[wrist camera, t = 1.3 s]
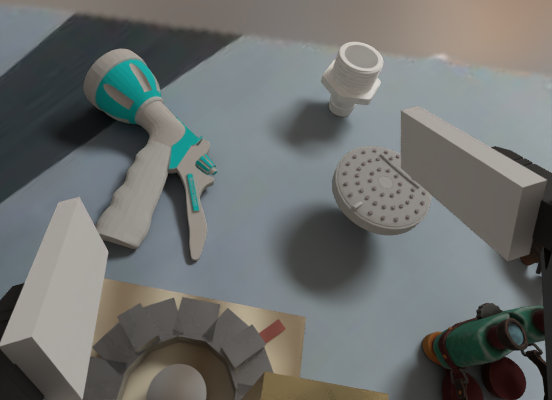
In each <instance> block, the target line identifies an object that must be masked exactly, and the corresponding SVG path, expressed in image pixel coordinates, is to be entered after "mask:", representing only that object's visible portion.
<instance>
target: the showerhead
mask: <svg viewBox="0 0 552 400" xmlns="http://www.w3.org/2000/svg"><path fill="white" fill-rule="evenodd" d="M332 190H333V195H334V198H335V200H336V202H337V204H338V206H339V208H340V209H341V211H342V212H343V213H344V214H345V215H346V216H347V217H348V218H349V219H350V220H351V221H352V222H354V223H355V224H356V225H358V226H359V227H361V228H363V229H365V230H367V231H370V232H373V233H376V234H381V235H398V234H402V233H405V232H407V231H409V230H411V229H412V228H414V227H415V226H416V225H417V224H418V223H419V222H421V221H422V220H423V219H424V217H425V216H426V215H427V213H428V211H429V208H430V204H431V194H430V193H429V192H428V191H426V190H425V189H424V188H423V187H422V186H421V185H420V184H418V183H417V182H416V181H415V180H414V179H413V178H412V177H410V176H409V175H408V174H407V173H406V172H405V171H404V170H402V169H401V154H399V153H397V152H395V151H393V150H390V149H387V148H382V147H377V146H367V147H360V148H357V149H354V150H352V151H350V152H348V153H347V154H346V155H345V156H344V157H343V158H342V159H341V160H340V162H339V163H338V165H337V168H336V170H335V173H334V175H333V179H332Z"/></svg>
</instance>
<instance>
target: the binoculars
mask: <svg viewBox="0 0 552 400" xmlns="http://www.w3.org/2000/svg"><path fill="white" fill-rule="evenodd" d="M476 312H477V315H476V318H473V319H470V320H467V321H464V322H460V323H457V324H455V325H454V326H452V327H450V328H448V329H447V330H445V331H443V332H435V333H432V334H429V335H427V336H426V337H425V338H424V340H423V349H424V352H425V354H426V355H427V356H428V358H430V359H431V360H432V361H433V362H435V363H436V364H438V365H441V366H443V367H444V371H445V374H446V375H445V377H444V380H443V384H442V395H443V400H484V399H483V393H482V390H481V388H480V386H479V385H478V383H477V382H476V380H475V379H474V378H473V377H472V376H470V375H469V374H468V373H466V372H465V371H464V370H463V369H465V368H467V367H469V366H474V365H480V364H484V365H483V369H482V377H483V382H484V385H485V387H486V388H487V390H488V391H489V392H490V393H491V394H492V395H494V396H496V397H498V398H501V399H506V400H516V399H518V398H520V397H521V396H522V395H523V393H524V392H525V388H526V379H525V376H524V373H523V372H522V370H521V369H520V367H519V366H518V365H517V364H516V363H515V362H514V361H512V360H511V359H509V358H507V357H504V356H506V355H507V354H509V353H511V352H512V351H513V350H514V351H515V350H521V353H522V355H524V356H527V357H528V358H529V359H530V360H531V361H532V362H533V363H534V364H535V365H536V366H537V367H538V369H539V371H540V373H541V375H542V377H543V385H544V393H545V395H544V400H548V383H547V365H546V362H545V361H544V360H543V359H542V358H541V356H540V355H542V353H543V352H542V350H541V349H540V348H539V347H538V346H537V345H536V344H535V342H540V341H544V340H545V329H544V311H543V306H528V307H521V308H517V309H512V310H507V311H502V310H500V308H499V307H498V306H496V305H494V304H493V303H491V304H489V303H486V304H482V305H481V306H479V307H478V310H477V311H476ZM531 345H533V346H534V347H535V348H536V349H537V350H538V351H539V352H538V351H537V350H532V351H527V352H525V353H526V354H525V353H524V350H525V349H526V348H527V346H531Z"/></svg>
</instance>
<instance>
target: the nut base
mask: <svg viewBox="0 0 552 400" xmlns="http://www.w3.org/2000/svg"><path fill="white" fill-rule="evenodd" d="M182 297H185V298H191V299H196V300H201V301H206V302H212V303H217V304H221V305H220V311H219V316H218V318H219V317H220V316H221V314H222V313H223V312H224V311H225V310H226V309H227V308H229V309H230V310H231V311H232V312H233V313H234V314H236V315H237V316H238V317H239V318H240V319H241V320H242V321H244V322H245V323H246V324H247V325H248V326H250V325H252V324H253V326H254V327H255V329H256V330H257V332H258V333H259V334H260V336H261V337H262V339H263V340H264V342H265V343H266V346H265V350H266V353H267V356H268V358H269V361H270V364H271V367H272V370H273V372H274V373H276V374H281V375H287V376H292V377H298V378H300V369H301V359H302V349H303V339H304V329H305V319H306V317H302V316H297V315H292V314H287V313H281V312H276V311H271V310H266V309H261V308H255V307H250V306H245V305H240V304H235V303H229V302H224V301H219V300H214V299H209V298H203V297H198V296H193V295H188V294H183V293H177V292H172V291H167V290H162V289H156V288H151V287H146V286H141V285H136V284H130V283H125V282H120V281H115V280H110V279H104V281H103V286H102V292H101V298H100V303H99V309H98V315H97V321H96V326H95V332H94V338H93V343H92V347H93V346H94V345H95V344H96V343H97V342H98V341H99V340H100V339H101V338H102V337H103V336H104V335H105V334H106V333H107V332H108V331H109V330H111V329H112V328H113V327H114V326H115V325H116V324H117V323H118V322H119V320H118V318H117V316H119V315H120V314H122V313H124V312H125V311H127V310H129V309H130V308H132V307H134V306H136V305H137V304H139V303H141V305H142V307H145V306H149V305H152V304H155V303H158V302H161V301H164V300H167V299H171V298H174V299H175V303H176V306H177V310H179V307H180V303H181V300H182ZM90 356H91V357H96V358H102V357H101V356H100V355H99V354H98V353H97V352H96V351H95V350H94V349H93V348H92V349H91V355H90ZM102 359H103V358H102ZM233 397H234V391H233V388H232V384H231V381H230V378H229V375H228V372H227V368H226V365H225V364H224V363H223V362H221V361H220V360H219V359H218V358H217V357H216V356H215V355H214V354H213V353H212V352H211V351H209V350H208V349H207V348H206V347H203V346H198V345H192V344H187V343H181V342H178V343H175V344H172V345H169V346H166V347H164V348H161V349H158V350H155V351H152V352H151V353H150V354H149V355H148V356H147V357H146V358H145V359H144V360H143V361H142V362H141V364H140V365H139V366H138V367H137V368H136V369H135V370H134V371H133V372H132V373H131V374H130V376H129V379H128V382H127V385H126V389H125V392H124V395H123V398H122V400H233Z"/></svg>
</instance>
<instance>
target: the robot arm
mask: <svg viewBox="0 0 552 400" xmlns="http://www.w3.org/2000/svg"><path fill="white" fill-rule="evenodd" d="M401 169H402V170H404V171H405V172H406V173H407V174H408V175H409V176H410V177H412V178H413V179H414V180H415V181H416V182H417V183H418V184H420V185H421V186H422V187H423V188H424V189H425V190H426V191H428V192H429V193H430V194H431V195H432V196H433V197H434V198H436V199H437V200H438V201H439V202H440V203H441V204H442V205H444V206H445V207H446V208H447V209H448V210H449V211H450V212H452V213H453V214H454V215H455V216H456V217H457V218H459V219H460V220H461V221H462V222H463V223H464V224H465V225H467V226H468V227H469V228H470V229H471V230H472V231H473V232H475V233H476V234H477V235H478V236H479V237H480V238H481V239H483V240H484V241H485V242H486V243H487V244H488V245H489V246H491V247H492V248H493V249H494V250H495V251H496V252H497V253H499V254H500V255H501V256H502V257H503V258H504V259H505V260H507V261H510V260H513V259H516V258H519V257H523V256H526V255H529V253H530V249H531V245H532V241H533V239H534V240H535V241H537V242H538V243H539V244H541V245H542V246H543V248H542V252H541V255H540V259H539V263H538V267H537V270H536V273H537V274H540V273H541V274H542V292H543V311H544V329H545V347H546V365H547V383H548V400H552V173H551V172H549V171H547V170H545V169H543V168H541V167H540V166H538V165H536V164H532V162H531V161H529V160H527V159H523V157H521V156H520V155H518V154H516V153H514V152H512V151H510V150H507V149H503V148H500V147H496V146H494V147H489V146H487V145H485V144H484V143H482V142H480V141H478V140H477V139H475V138H473V137H471V136H470V135H468V134H466V133H465V132H463V131H461V130H459V129H458V128H456V127H454V126H452V125H451V124H449V123H447V122H445V121H444V120H442V119H440V118H438V117H437V116H435V115H433V114H431V113H430V112H428V111H426V110H424V109H423V108H421V107H419V106H415V107H412V108H408V109H404V110H401ZM107 258H108V250H107V248H106V246H105V244H104V242H103V240H102V239H101V237H100V235H99V233H98V231H97V229H96V227H95V226H94V224H93V222H92V220H91V218H90V216H89V214H88V212H87V211H86V209H85V207H84V205H83V203H82V201H81V199H80V198H79V197H77V198H73V199H69V200H66V201H62V202H58V205H57V207H56V209H55V212H54V214H53V217H52V219H51V221H50V224H49V226H48V229H47V231H46V233H45V236H44V238H43V241H42V243H41V245H40V248H39V250H38V253H37V255H36V257H35V260H34V262H33V265H32V267H31V269H30V272H29V274H28V277H27V279H26V282H25V283H23V284H19V285H16V286H13V287H12V288H11V289H10V290H9V291H8V292H7V293H6V294H5V296H4V297H3V298H2V299H1V300H0V400H43V399H44V398H45V399H46V400H83V395H84V389H85V383H86V378H87V372H88V366H89V360H90V355H91V349H92V343H93V338H94V332H95V326H96V321H97V315H98V309H99V303H100V298H101V292H102V286H103V281H104V275H105V269H106V263H107Z"/></svg>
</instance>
